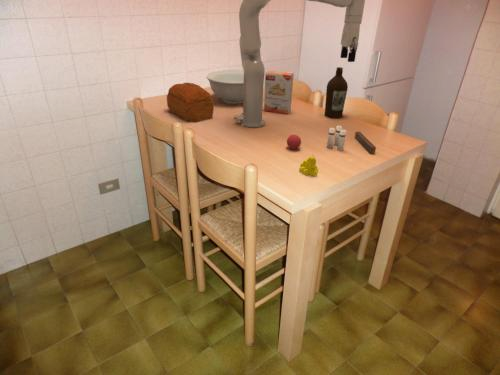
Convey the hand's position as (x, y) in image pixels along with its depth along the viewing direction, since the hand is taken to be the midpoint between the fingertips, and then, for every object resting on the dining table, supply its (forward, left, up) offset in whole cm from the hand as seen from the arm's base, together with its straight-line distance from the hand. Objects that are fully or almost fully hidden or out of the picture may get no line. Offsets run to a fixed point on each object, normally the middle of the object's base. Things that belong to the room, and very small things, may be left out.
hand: (347, 59), depth 168 cm
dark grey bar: (+2, -30, -31) cm, 43 cm away
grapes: (-29, -53, -31) cm, 68 cm away
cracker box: (-28, +20, -31) cm, 46 cm away
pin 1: (-10, -29, -31) cm, 43 cm away
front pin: (-14, -31, -31) cm, 46 cm away
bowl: (-50, +43, -31) cm, 73 cm away
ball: (-30, -31, -28) cm, 52 cm away
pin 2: (-10, -34, -31) cm, 47 cm away
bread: (-76, +18, -31) cm, 84 cm away
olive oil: (+1, +11, -31) cm, 33 cm away
